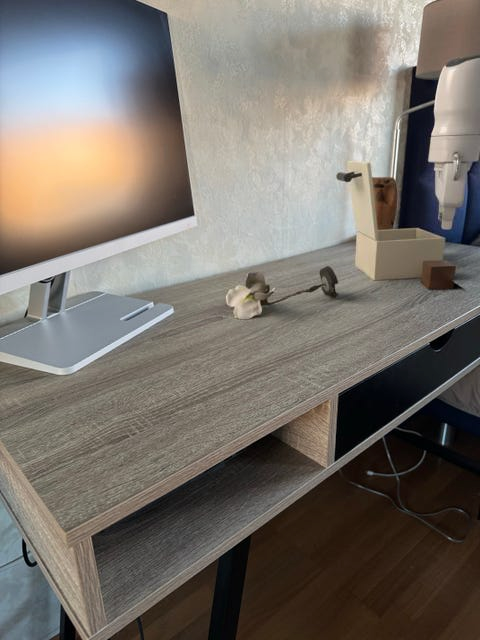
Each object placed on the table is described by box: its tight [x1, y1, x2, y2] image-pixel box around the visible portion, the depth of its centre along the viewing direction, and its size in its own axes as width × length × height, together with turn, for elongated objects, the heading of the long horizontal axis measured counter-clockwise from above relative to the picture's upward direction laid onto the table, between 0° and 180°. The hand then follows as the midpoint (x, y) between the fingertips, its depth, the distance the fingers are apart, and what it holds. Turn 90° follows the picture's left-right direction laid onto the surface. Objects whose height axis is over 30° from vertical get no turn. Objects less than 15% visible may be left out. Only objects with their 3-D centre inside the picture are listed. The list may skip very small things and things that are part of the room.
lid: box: [335, 160, 379, 240], centre depth 101 cm, size 16×14×5 cm
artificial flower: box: [225, 265, 340, 320], centre depth 85 cm, size 9×22×10 cm, turn 107°
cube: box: [420, 259, 457, 291], centre depth 94 cm, size 5×5×5 cm
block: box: [372, 176, 398, 230], centre depth 129 cm, size 11×8×20 cm
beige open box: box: [354, 227, 446, 281], centre depth 106 cm, size 16×14×9 cm
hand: (444, 224), depth 90 cm, fingers open, 8 cm apart
